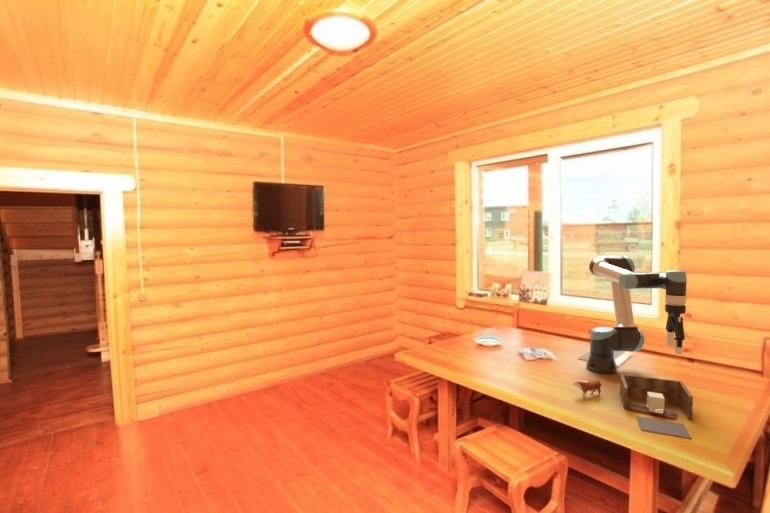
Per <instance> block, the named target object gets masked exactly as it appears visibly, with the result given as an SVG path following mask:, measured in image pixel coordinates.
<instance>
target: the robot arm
mask: <svg viewBox="0 0 770 513" xmlns="http://www.w3.org/2000/svg"><path fill="white" fill-rule="evenodd" d="M634 263H635V262H634V261H633V260H632V259H631V258H630V257H629V256H626V255H601V256H597V257H594V258H593V259H592V260H591V261H590V263H589V265H588V267H589V268H588V269H589V272H590V273H591V274H592V275H594V276H595V277H597V278H598V277H599V278H605V279H607V280H608V281H609V282H610V283H611V290H612V299H613V307H614V315H615V325H614V326H613V327H608V326H599V327H594V328H592V329H591V330H590V333H589V338H590V339H589V340H590V341H589V342H590V343H589V357H588V358H587V361H586V365H585V366H586V369H587V370H588V371H591V372H593V373H597V374H604V375H613V374H616V373H617V372H618V365H617V363H616V360H615V356H614V353H615V352H631V353H632V352H639V351H640V350H642V348H643V347H644V345H645V335H644V332H643V331H642V330H640V329H639V327H638V326H637V325H636V324H635V321H634V312H633V304H632V298H631V290H632V289H634V290H635V289H636V290H637V289H640V290H641V289H662V290H665V295H664V296H665V298H664V299H665V300H664V301H665V303H666V304H665V305H664V309H665V310H664V311H665V312H666V313H667V318H666V324H665V330H666V346H668V347H674V354H675V355H683V354H684V352H683V351H684V349H683V347H684V343H683V342H684V341H685V340H686V339H685V338H686V337H685V328H684V318H683V317H681V315H684V314H686V312H687V309H686V308H687V307H686V306H687V305H686V302H687V300H688V297H687V284H688V278H687V272H686V271H685V270H680V269H674V270H673V269H670V270H666V272H661V271H657V272H656V271H653V272H635V270H636V267H635V264H634Z"/></svg>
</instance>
